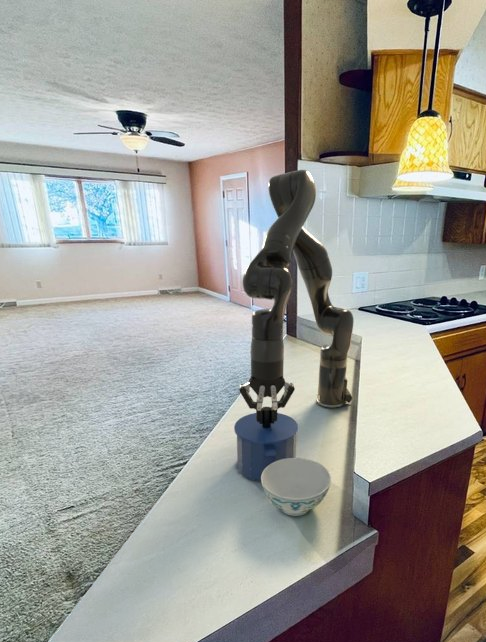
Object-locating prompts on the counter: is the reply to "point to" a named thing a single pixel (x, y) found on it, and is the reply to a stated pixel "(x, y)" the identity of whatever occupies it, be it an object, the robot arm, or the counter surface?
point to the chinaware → (295, 484)
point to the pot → (262, 456)
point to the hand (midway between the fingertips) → (266, 422)
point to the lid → (266, 428)
